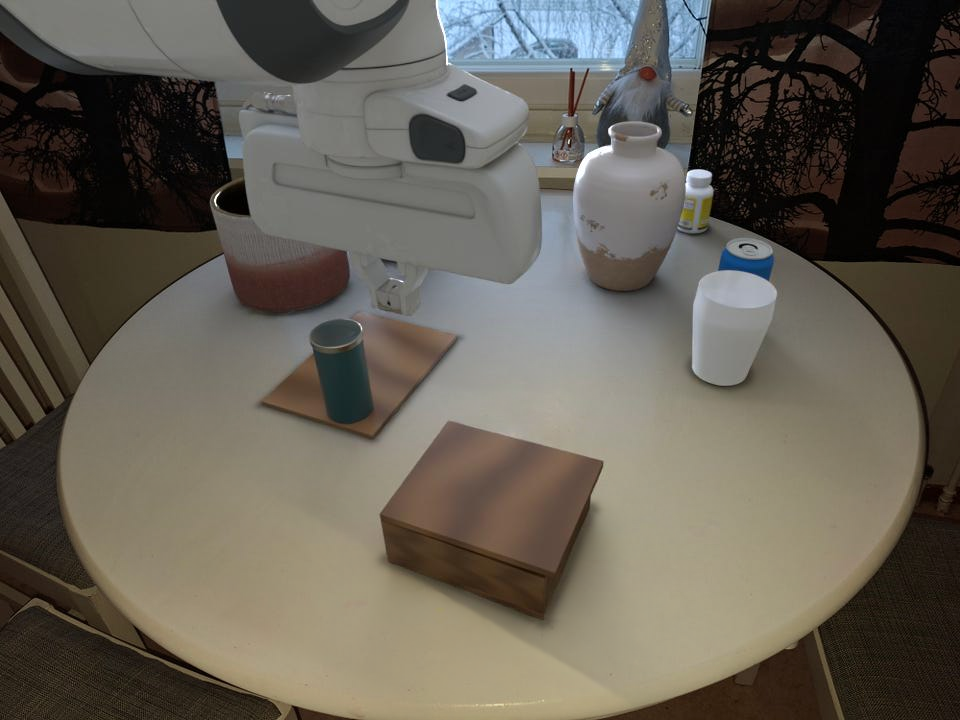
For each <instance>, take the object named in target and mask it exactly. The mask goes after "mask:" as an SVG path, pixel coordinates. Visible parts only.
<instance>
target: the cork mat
mask: <svg viewBox="0 0 960 720" xmlns="http://www.w3.org/2000/svg"><path fill="white" fill-rule="evenodd" d="M350 320H353V321H355V322H357V323H358V324H360V326H361V327H362V331H363V343H364V349H365V355H366V361H367V368H368V374H369V380H370V386H371V392H372V398H373V405H374V407H373V410H372V412H371V414H370V415H369V416H368V417H366V418H365V419H363V420H361V421H359V422H356V423H352V424H340V423H336V422H334V421H332V420H331V419H330V418H329V417H328V416H327V412H326V408H325V403H324V399H323V394H322V390H321V385H320V380H319V376H318V371H317V367H316V362H315V358H314V353H313V352H312V354H311V355H310V356H309V357H307V358H306V359H305V360H304V361H303V362H302V363H301V364H300V365H299V366H297V368H296V369H294V371H292V372H291V373H290V374H289V375H288V376H287V377H286V378H285V379H284V380H283V381H282V382H280V383H279V384H278V385H277V386H276V387H275V388H274V389H273V390H272V391H270V393H268V394H267V395H266V396H265V397H264V398H263V399H261V401H260V402H261V404H262V406H265V407H268V408H271V409H275V410H278V411H281V412H284V413H287V414H290V415H293V416H297V417H300V418H304V419H306V420H310V421H313V422H316V423H319V424H323V425H326V426H329V427H333V428H336V429H339V430H342V431H345V432H349V433H352V434H353V435H354V434H355V435H357V436H361V437H364V438H368V439H370V440H374V439H375V438H376V436H378V434H379V433H380V432H381V431H382V430H383V428H384V427H385V426H386V425H387V423H388V422H389V421H390V420H391V419H392V417H393V416H395V414H396V412H397V411H398V410H399V409H400V408H401V407H402V406H403V405H404V403H405V402H406V401H407V400H408V398H409V397H410V396H411V395H412V393H413V392H414V391H415V390H416V388H418V386H419V385H420V384H421V382H422V381H423V380H424V379H426V376H427V375H429V373H430V372H431V371H432V369H433V368H434V367H435V366H436V365H437V364H438V363H439V361H440V360H441V359H442V358H443V356H445V354H446V353H447V351H449V349H450V348H451V347H452V346H453V344H454V343H455V342H456V341H457V339H458V334H455V333H451V332H448V331H443V330H439V329H434V328H431V327H426V326H421V325H419V324H414V323H409V322H405V321H400V320H397V319H392V318H389V317H384V316H381V315H375V314H373V313H372V314H371V313H368V312H364V311H358V312H357V313H356V314H355V315H354V316H353V317H351V318H350Z"/></svg>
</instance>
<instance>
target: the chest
mask: <svg viewBox="0 0 960 720" xmlns="http://www.w3.org/2000/svg"><path fill="white" fill-rule="evenodd" d="M591 499H592V496H591V497H590V499H589V501H588V504H587V506H586V508H585V511H584V513H583V515H582V518H581V520H580V522H579V525H578V527H577V529H576V532H575V534H574V536H573V539H572V541H571V543H570V546H569V548H568V550H567V553H566V555H565V557H564V560H563V562H562V564H561V567H560V569H559V571H558V574H557V576H556V578H555V579H554V578H551V577H548V576H546V575H543V574H540V573H537V572H534V571H531V570H528V569H525V568H522V567H519V566H516V565H513V564H510V563H507V562H504V561H501V560H498V559H495V558H492V557H489V556H486V555H483V554H480V553H477V552H474V551H471V550H468V549H466V548H463V547H460V546H457V545H454V544H451V543H448V542H445V541H442V540H439V539H436V538H433V537H430V536H427V535H424V534H421V533H418V532H415V531H412V530H409V529H406V528H403V527H400V526H397V525H394V524H391V523H389V522H386V521H383V520H381V519H380V524H381V530H382V531H381V532H382V535H383V541H384V547H385V553H386V559H387V561H388V562H390V563H393V564H395V565H397V566H399V567H403V568H406V569H407V570H410V571H413V572H416V573H419V574H421V575H423V576H426V577H429V578H432V579H433V580H437V581H439V582H443V583H445V584H448V585H450V586H453V587H455V588H457V589H459V590H463V591H465V592H468V593H471V594H473V595H475V596H479V597H481V598H484V599H485V600H488V601H492V602H493V603H497V604H499V605H502V606H504V607H507V608H510V609H512V610H515V611H518V612H520V613H523V614H525V615H528V616H531V617H533V618H536V619H539V620H542V621H543V620H544V618H545V616H546V614H547V611H548V609H549V607H550V604H551V602H552V600H553V597H554V595H555V592H556V590H557V588H558V586H559V584H560V581H561V578H562V576H563V573H564V571H565V569H566V567H567V565H568V562H569V560H570V557H571V554H572V553H573V550H574V547H575V545H576V543H577V540H578V538H579V536H580V533H581V531H582V528H583V526H584V524H585V521H586V519H587V516H588V514H589V512H590V510H591Z"/></svg>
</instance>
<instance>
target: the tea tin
mask: <svg viewBox="0 0 960 720" xmlns="http://www.w3.org/2000/svg"><path fill="white" fill-rule="evenodd" d="M308 338H309V342H310V343H309V344H310V346H311V348H312V354H313V353H314V358H315V362H316V367H317V371H318V376H319V380H320V385H321V390H322V394H323V399H324V403H325V408H326V412H327V416H328V417H329V418H330V419H331V420H332V421H334V422H336V423H340V424H352V423H356V422H359V421H361V420H363V419H365V418H366V417H368V416H369V415H370V414H371V412H372V410H373V407H374V405H373V398H372V392H371V386H370V380H369V374H368V368H367V361H366V355H365V349H364V343H363V331H362V327H361V326H360V324H358V323H357V322H355V321H353V320H351V319H349V318H333V319H328V320H325V321H323V322H321V323H319V324H317V325H316V326H314V327H313V328H312V329H311V331H310V332H309V336H308Z"/></svg>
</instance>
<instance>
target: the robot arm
mask: <svg viewBox="0 0 960 720" xmlns="http://www.w3.org/2000/svg"><path fill="white" fill-rule="evenodd" d="M0 33H2V34H3V35H4V37H6V38H7V39H9V40H10V41H11V42H12V43H14V44H15V45H16V46H17V47H19V48H20V49H21V50H22V51H24V52H25V53H27V54H29V55H30V56H32V57H33V58H35V59H37V60H39V61H40V62H43V63H45V64H47V65H49V66H51V67H54V68H56V69H59V70H61V71H65V72H68V73H72V74H78V75H86V76H132V75H135V76H136V75H146V76H147V75H148V76H156V77H166V78H175V79H186V80H195V81H205V82H218V83H231V84H240V85H252V86H253V85H254V86H266V87H291V92H292V95H291V94H290V95H289V94H288V95H277V94H274V93H272V92H266V91H259V92H254V93H253V94H252V95H251V96H250V98H249V99H247V100H245V101H244V103H243V104H242V106H241V109H240V111H239V112H238V122H239V127H240V131H241V135H242V140H243V142H242V143H243V144H242V166H243V167H242V168H243V173H244V174H243V177H245V186H246V193H247V199H248V205H249V210H250V215H251V218H252V220H253V221H254V223H255V224H256V225H257V226H258V228H259V229H260V230H261V231H262V232H263V233H264V234H266V235H270V236H275V237H280V238H285V239H289V240H294V241H299V242H304V243H309V244H314V245H319V246H323V247H328V248H333V249H338V250H343V251H347V253H349V257H350V259H349V260H350V265H351V266H352V267H353V269H354V271H356V273H357V275H358V276H359V278H360V279H361V280H362V281H363V283H364V284H365V286H366V288H367V289H369V294H370V302H371V307H372V308H373V309H376V310H379V311H385V312H388V313H394V314H398V315H401V316H404V317H412V316H413V315H415V313H416V312H417V311H418V310H419V309H420V305H421V292H420V286H421V285H422V283H423V282H424V280H425V278H426V276H427V274H428V272H429V271H430V270H435V271H440V272H445V273H449V274H454V275H459V276H464V277H469V278H475V279H479V280H483V281H489V282H494V283H496V284H497V283H498V284H503V285H512V284H514V283H516V282H517V281H518V280H519V279H520V278H522V277H523V276H524V275H525V274H526V273H527V272H528V271H529V270H531V268H532V266H534V264H535V263H536V261H537V260H538V258H539V256H540V254H541V250H542V244H543V243H542V242H543V241H542V240H543V219H542V218H543V213H542V200H541V197H542V196H541V190H540V181H539V173H538V169H537V166H536V163H535V161H534V159H533V157H532V155H531V153H530V152H529V150H528V149H526V148H525V146H523V145H522V144H520V143H519V141H520V140H521V139H522V138H523V136H524V135H525V134H526V132H528V129H529V124H530V108H529V105H528V103H527V102H526V101H525V100H524V99H523V98H521V97H519V96H517V95H516V94H513V93H512V92H509V91H507V90H504V89H503V88H501V87H498V86H496V85H494V84H491V83H489V82H488V81H485V80H483V79H481V78H479V77H477V76H474V75H473V74H471V73H470V72H467V71H465V70H463V69H461V68H459V67H458V66H456V65H454V64H452V63H450V62H448V50H447V49H448V48H447V40H446V34H445V30H444V27H443V24H442V21H441V18H440V14H439V7H438V0H0ZM382 260H387V261H392V262H396V263H397V271H398V274H399V275H402V276H405V277H404V280H400V279H395V278H392V277H391V275H390V273H389V271H388V270H387V268H386V266H385V264H384V263H383V261H382Z"/></svg>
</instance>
